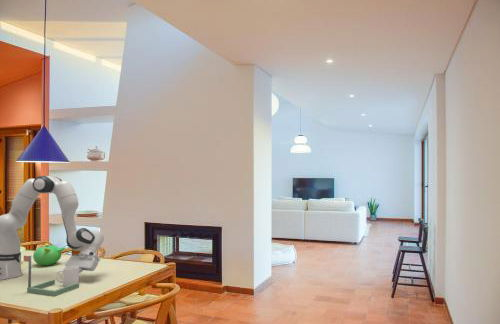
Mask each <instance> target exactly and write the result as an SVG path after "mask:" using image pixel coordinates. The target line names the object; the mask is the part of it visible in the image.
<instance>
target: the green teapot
mask: <svg viewBox="0 0 500 324" xmlns="http://www.w3.org/2000/svg"><path fill="white" fill-rule="evenodd" d="M66 249H67V247H66V246H64V247H58V246H57V245H54V244H49V243H47V242H46V243H44V245H41V246H39V247H38V248H37V249H35V251H33V256H32V260H34V262H35V263H36V264H37V265H40V266H51V265H54V264H56V263H57V262H59V260H60V259H61V257H62V252H63V251H64V250H66Z"/></svg>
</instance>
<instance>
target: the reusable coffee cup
mask: <svg viewBox="0 0 500 324" xmlns="http://www.w3.org/2000/svg"><path fill="white" fill-rule="evenodd" d="M82 248H83V246H81V247H80V248H78V249H72V248H71V256H73V255H75V254H77V255H79V253H80V251H81V250H82Z"/></svg>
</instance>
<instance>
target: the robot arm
mask: <svg viewBox="0 0 500 324" xmlns="http://www.w3.org/2000/svg"><path fill="white" fill-rule="evenodd" d="M40 194H48V195H49V194H54V195H55V196H56V199H57V202H58V205H59V208H60V212H61V219H62V221H63V225H64V229H65V233H66V238H65V239H66V244H67V247H69V248H70V249H71V250H72V249H78V248H80V247H81V246H83V248H82V250H81V251H80V253H79V255H77V254H75V255H73V256H72V255H71V256H70V257H69V259H68V260H67V261H66V262H65V263H64V267H66V266H79V274H81V273H82V272H83V271H88V272H94V271H95V270H96V268H97V266H98V265H99V262H100V261H101V258H100V257H99V255H98V254H97V252H98V251H99V249H100V248H101V246H102V245H103V242H104V240H105V239H104V238H105V237H104V234H103V233H102V232H100V231H98V230H89V229H88V228H87V227H86V228H85V227H81V228H79V229H77V225H76V222H75V214H76V211H77V209H78V208H79V198H78V196H77V193H76V191H75V189H74V187H73V185H72V183H71V182H70V181H68V180H62V179H61V178H59V177H57V176H52V175H39V176H37V177H35V178H28V179H27V180H26V181H25V182H24V183H23V184H22V186H20V188H19V190H18V191H17V193H16V195H15V196H14V197H13V200H12V201H11V208H10V210H9V212H8V213H5V214H1V215H0V280H3V281H4V280H9V279H13V278H17V277H21V276H23V274H24V273H23V271H22V264H21V261H22V252H21V239H20V237H19V235H18V230H19V229H21V228H22V227H24V226H25V225H26V224H27V221H28V219H27V218H28V215H29V213H30V210H31V208H32V206H33V205H34V203H35V202H36V200H37V198H38V196H39V195H40Z"/></svg>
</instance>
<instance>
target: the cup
mask: <svg viewBox="0 0 500 324" xmlns="http://www.w3.org/2000/svg"><path fill="white" fill-rule="evenodd" d="M60 273H62V279H61V280H60V279H59V274H60ZM79 274H80V273H79V266H64V267H63V268H62V269H59V270H57V272H56V275H55V281H56V282H58V283H60V284H62V285H63V287H66V286H69V285H72V284H75V283H79V279H80V275H79ZM79 284H80V283H79Z"/></svg>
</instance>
